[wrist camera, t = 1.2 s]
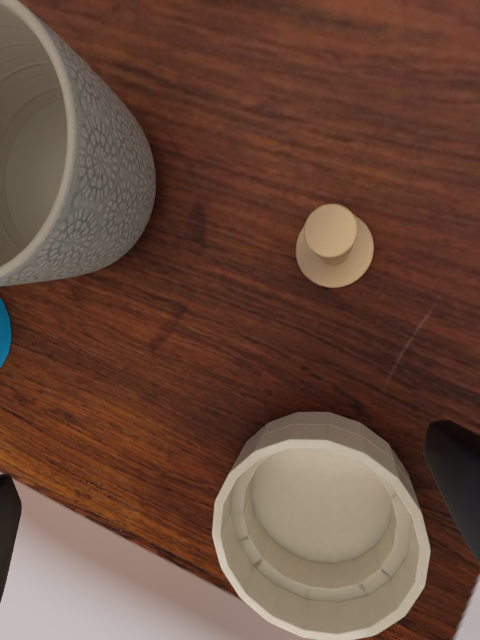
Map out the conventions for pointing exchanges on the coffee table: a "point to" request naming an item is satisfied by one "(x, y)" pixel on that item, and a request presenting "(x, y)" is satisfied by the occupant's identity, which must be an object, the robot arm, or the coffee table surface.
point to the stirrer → (334, 246)
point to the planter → (64, 159)
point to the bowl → (321, 528)
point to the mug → (4, 333)
